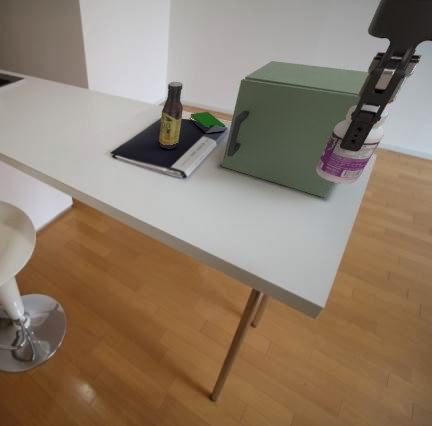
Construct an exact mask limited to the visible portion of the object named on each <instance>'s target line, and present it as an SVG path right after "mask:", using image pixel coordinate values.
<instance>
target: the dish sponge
mask: <svg viewBox="0 0 432 426" xmlns="http://www.w3.org/2000/svg"><path fill="white" fill-rule="evenodd" d="M190 117H191V118H192V119H194V120H196V121H198V122H200V123H201V124H202V125H204V126H205V127H208V128H209V127H210V125H218V126H222V127H225V128H226V124H225V123H224V122H222V121H221V120H220V119H218V118H217V117H215V115H214V114H212V113H210V112H209V111H203V112H202V111H201V112H194V113H190ZM190 117H189V120H190V121H191V120H192V119H191V118H190Z"/></svg>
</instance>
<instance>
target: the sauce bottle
mask: <svg viewBox="0 0 432 426" xmlns="http://www.w3.org/2000/svg"><path fill="white" fill-rule="evenodd" d="M183 84H184V83H182V82H180V81H170V82H169V83H168V85H167V97H166V100H165V102H164V105H163V107H162V110H161V116H160V127H159V128H160V129H159V137H158V142H160V143H161V144H163V145H173V144H176V143H178V144H179V141H180V135H181V134H180V133H181V128H182V120H183V110H184V106H183V104H182V102H181V98H182V97H181V96H182V90H183Z"/></svg>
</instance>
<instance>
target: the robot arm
mask: <svg viewBox="0 0 432 426" xmlns="http://www.w3.org/2000/svg"><path fill="white" fill-rule="evenodd" d="M367 34H368V35H370V36H371V37H374V38H377V39H381V40H383V39H387V40H388V41H389V45H388V47H387V49H386V51H385V52H384V51H377V53H376V54H375V56H374V57H373V59H372V60H371V62H370V64H369V66H368V69H367V72H368V76H367V78H366V80H365V82H364V84H363V86H362V88H361V90H360V92H359V94H358V99H359V102H358V105H357V107H356V109H355V111H354V112H352V114H351V120H352V121H351V123H350V125H349V127H348V129H347V131H346V133H345V135H344V137H343V139H342V141H341V143H340V148H342V149H345V150H350V151H354V152H357V151H359V150H360V149H361V147H362V146H363V144H364V142H365V140H366V138H367V136H368V135H369V133H370V131H371V129H372V127H373V126H374V124H376V123H377V121H378V122H379V121H380V119H381V117H380V116H381V114H382V112H383V111H384V109H385V110H386V107H387V105H391V104H393V103H394V101H395V100H396V99H397V97H398V95H399V94H400V92H401V90H402V88H403V86H404V84H405V83H406V81H407V79H410V77H411V76H412V75H413V74H414V72H415V70H416V69H417V67H418V65H419V62H420V59H421V58H422V54H415V53H416V52H417V47H418V46H419V45H420V44H422V43H424V42H432V0H380V1H379V2H378V5H377V7H376V10H375V12H374V14H373V17H372V19H371V21H370V23H369V25H368V28H367ZM364 104H366V105H371V106H376V107H379V109H378V111H377V113H376V112H372V111H366V110H361V109H362V107H363V105H364Z"/></svg>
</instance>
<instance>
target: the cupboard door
mask: <svg viewBox="0 0 432 426" xmlns="http://www.w3.org/2000/svg"><path fill="white" fill-rule="evenodd" d="M358 102H359V99H358V95H354V94H347V93H339V92H332V91H325V90H318V89H311V88H304V87H296V86H289V85H282V84H275V83H268V82H261V81H254V80H246V79H245V78H242V79H241V80H240V83H239V88H238V93H237V96H236V100H235V104H234V105H235V106H234V109H233V114H232V119H231V122H230V127H229V132H228V136H227V140H226V145H225V149H224V154H223V158H222V161H221V162H222V163H221V167H223V168H225V169H228V170H232V171H236V172H239V173H241V174H246V175H248V176H252V177H254V178H258V179H262V180H265V181H269V182H272V183H274V184H278V185H280V186H285V187H288V188H290V189H291V188H292V189H293V190H297V191H301V192H305V193H308V194H311V195H314V196H318V197H321V198H325V197H326V195H327V193H328V191H329V189H330V187H331V186H332V184H333V182H331V181H328V180H326V179H324V178H322V177H321V176H319V175H318V173H317V171H316V168H317V165H318V163H319V160H320V158H321V156H322V154H323V152H324V149H325V147H326V145H327V143H328V141H329V139H330V136H331V134H332V132H333V130H334V128H335V126H336V125H337V124H338V123H340V122H342V121H344V120H346V115H347V113H348V111H349V109H350V108H351V107H352V106H355V105H358ZM364 105H366V104H364Z"/></svg>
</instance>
